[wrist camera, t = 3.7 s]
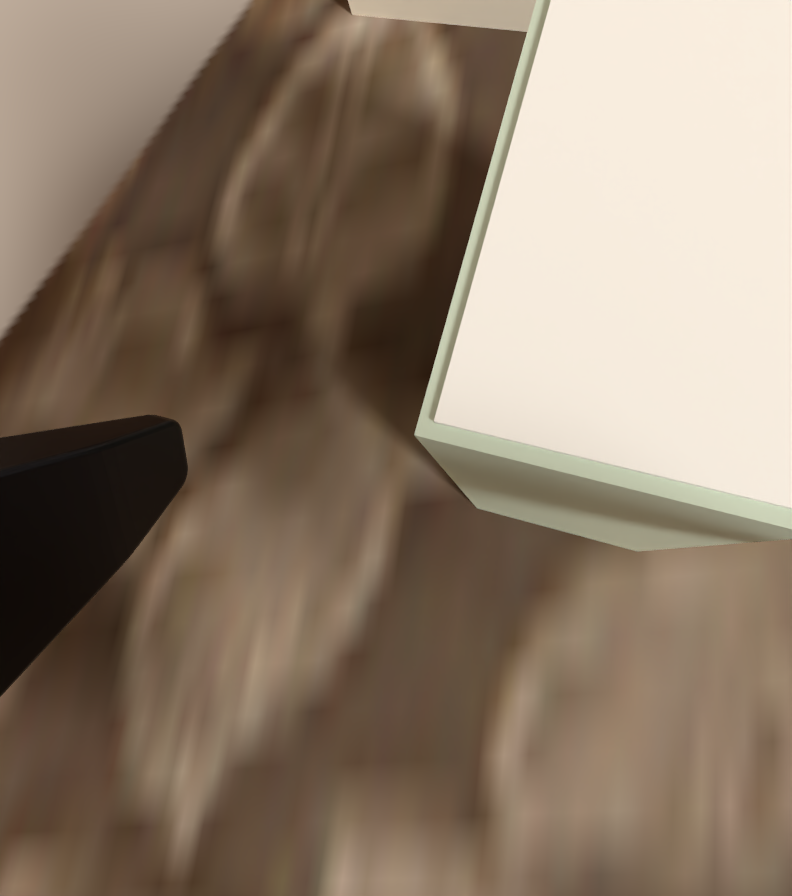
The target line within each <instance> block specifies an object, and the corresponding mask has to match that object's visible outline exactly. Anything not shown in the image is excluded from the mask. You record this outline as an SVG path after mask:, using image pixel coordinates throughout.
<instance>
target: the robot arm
mask: <svg viewBox="0 0 792 896" xmlns="http://www.w3.org/2000/svg"><path fill="white" fill-rule="evenodd" d="M187 471H188V465H187V459H186V453H185V447H184V441H183V435H182V430H181V427H180V425H179V423H178V422H176V421H175V420H172V419H169V418H165V417H161V416H157V415H144V416H137V417H131V418H125V419H118V420H112V421H105V422H99V423H92V424H86V425H80V426H73V427H67V428H60V429H54V430H47V431H41V432H35V433H28V434H22V435H15V436H9V437H2V438H0V697H1V696H2V694H3V693H4V692H5V691H6V690H7V689H8V688H9V687H10V686H11V685H12V684H13V683H14V682H15V680H16V679H17V678H18V677H19V676H20V675H21V674H22V673H23V672H24V671H25V670H26V669H27V667H28V666H29V665H30V664H31V663H32V662H33V661H34V660H35V659H36V658H37V657H38V656H39V655H40V653H41V652H42V651H43V650H44V649H45V648H46V647H47V646H48V645H49V644H50V643H51V642H52V641H53V639H54V638H55V637H56V636H57V635H58V634H59V633H60V632H61V631H62V630H63V629H64V628H65V627H66V625H67V624H68V623H69V622H70V621H71V620H72V619H73V618H74V617H75V616H76V615H77V614H78V613H79V611H80V610H81V609H82V608H83V607H84V606H85V605H86V604H87V603H88V602H89V601H90V600H91V599H92V597H93V596H94V595H95V594H96V593H97V592H98V591H99V590H100V589H101V588H102V587H103V586H104V584H105V583H106V582H107V581H108V580H109V579H110V578H111V577H112V576H113V575H114V574H115V573H116V572H117V570H118V569H119V568H120V567H121V566H122V565H123V564H124V563H125V561H126V560H127V559H128V558H129V557H130V556H131V554H132V553H133V552H134V550H135V549H136V548H137V547H138V545H139V544H140V543H141V541H142V540H143V539H144V537H145V536H146V535H147V533H148V532H149V531H150V529H151V528H152V527H153V525H154V524H155V523H156V521H157V520H158V519H159V517H160V516H161V514H162V513H163V512H164V510H165V509H166V508H167V506H168V505H169V504H170V502H171V501H172V500H173V498H174V497H175V496H176V494H177V493H178V492H179V490H180V489H181V487H182V486H183V484H184V482H185V480H186V476H187Z"/></svg>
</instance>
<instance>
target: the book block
mask: <svg viewBox="0 0 792 896" xmlns="http://www.w3.org/2000/svg"><path fill="white" fill-rule="evenodd" d="M348 3H349V6H350V9H351V13H352V15H360V16H370V17H380V18H391V19H401V20H411V21H421V22H432V23H442V24H452V25H463V26H473V27H483V28H494V29H504V30H514V31H524V32H528V28H529V25H530V21H531V17H532V14H533V10H534V7H535V3H536V0H348Z"/></svg>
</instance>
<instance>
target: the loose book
mask: <svg viewBox="0 0 792 896" xmlns="http://www.w3.org/2000/svg"><path fill="white" fill-rule="evenodd" d="M414 436H415V437H416V438H417V439H418V440H419V441H420V443H421V444H422V445H423V446H424V447H425V448H426V450H427V451H428V452H429V453H430V454H431V455H432V457H433V458H434V459H435V460H436V461H437V462H438V464H439V465H440V466H441V467H442V468H443V469H444V471H445V472H446V473H447V474H448V475H449V476H450V478H451V479H452V480H453V481H454V482H455V483H456V484H457V486H458V487H459V488H460V489H461V490H462V491H463V493H464V494H465V495H466V496H467V497H468V498H469V500H470V501H471V502H472V503H473V504H474V505H475V507H476V508H478V509H482V510H485V511H489V512H493V513H497V514H500V515H504V516H508V517H511V518H515V519H519V520H523V521H526V522H530V523H534V524H537V525H541V526H545V527H549V528H552V529H556V530H560V531H563V532H567V533H571V534H574V535H578V536H582V537H586V538H589V539H593V540H597V541H600V542H604V543H608V544H612V545H615V546H619V547H623V548H626V549H630V550H634V551H648V550H660V549H673V548H686V547H698V546H711V545H723V544H736V543H749V542H761V541H774V540H787V539H792V0H536V3H535V7H534V10H533V14H532V17H531V21H530V25H529V28H528V32H527V35H526V39H525V42H524V46H523V49H522V53H521V57H520V60H519V64H518V67H517V71H516V74H515V78H514V81H513V85H512V89H511V92H510V96H509V99H508V103H507V106H506V110H505V113H504V117H503V121H502V124H501V128H500V131H499V135H498V138H497V142H496V146H495V149H494V153H493V156H492V160H491V163H490V167H489V170H488V174H487V178H486V181H485V185H484V188H483V192H482V195H481V199H480V202H479V206H478V210H477V213H476V217H475V220H474V224H473V227H472V231H471V234H470V238H469V242H468V245H467V249H466V252H465V256H464V259H463V263H462V266H461V270H460V274H459V277H458V281H457V284H456V288H455V291H454V295H453V298H452V302H451V306H450V309H449V313H448V316H447V320H446V323H445V327H444V330H443V334H442V338H441V341H440V345H439V348H438V352H437V355H436V359H435V362H434V366H433V370H432V373H431V377H430V380H429V384H428V387H427V391H426V394H425V398H424V402H423V405H422V409H421V412H420V416H419V419H418V423H417V426H416V430H415V434H414Z"/></svg>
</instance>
